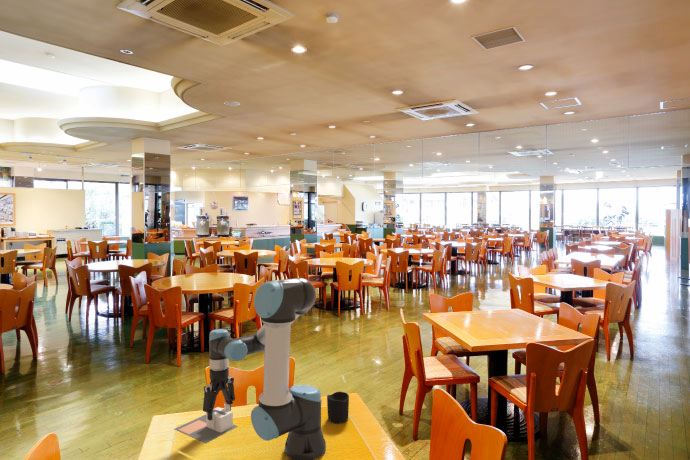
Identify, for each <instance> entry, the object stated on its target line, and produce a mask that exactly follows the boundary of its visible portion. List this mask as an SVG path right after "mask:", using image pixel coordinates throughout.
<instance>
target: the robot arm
mask: <svg viewBox="0 0 690 460" xmlns="http://www.w3.org/2000/svg"><path fill="white" fill-rule="evenodd" d="M316 291H317V290H316V287H315V286H314V285H313V284H312V282H311V281H310V280H308V279H306V278H303V277H294V278H293V277H292V278H286V279H285V278H284V279H277V280H276V279H275V280H274V279H272V280H270V281H265V282H263V283H261V285H260V286H258V288H257V289H256V291H255V294H254V299H253V305H254V306H253V307H254V308H255V312H256V314H257V315H258V317H260V321H261V322H262V323H263V325H262V326H261V327H260V328H259V329H258V330H257V331H256V332H255V333H252V334H250V335H245V336H240V337H237V338H232V337H229V336H230V335H229V331H228V329H226V328H216V329H213V330H211V331H210V332H209V337H208V338H209V340H208V344H209V346H208V347H209V349H208V350H209V354H208V355H209V379H210V382H209V385H207V386H205V385H204V386H203V391H204V393H203V406H202V412H205V413H206V412H207V419H208V420H209V427H211V428H215V412H214V411H213V409H215V403H216V400H217V397H218V395H219V393H220V392H221V393H222V395H223V398H224V401H225V403H223V404H224V405H223V409H225V410H228V411H231V410H232V405H233V404H234V401H236V395H235V386H234V385H235V384H234V381H235V378H234V377H232V376H230V375H229V372H230V370H229V365H230V364H229V362H230V361H235V362H240V361H242V360H244V359H245V358H246V357H247V356H250V355H252V354H257V353H261V352H263V353H264V356H263V357H264V358H263V388H262V389H263V391H262V392H261V394H259V396H258V404H257V405H258V406H257V405H256V406H254V407H253V408H252V410H251V412H250V420H251V424H252V427H253V430H254V431H255V433H256V435H257V436H258V437H259V438H260V439H261V440H263V441H265V442H266V441H268V442H269V441H271V440H274V439H278V438H279V437H281V436H283V435H285V434H287V433H288V434H287V437H286V440H285V443H284V452H285V453H284V454H285V456H286V457H288V458H289V459H291V460H316V459H318V458H321V457H322V456H323V455H324V454H325V453H326V451H327V444H326V443H327V442H326V439H325V437H324V434H323V431H322V395H321V394H322V393H321V391H320V389H319V388H317V387H315V386H313V385H307V384H306V385H305V384H297V385H292V386H291V387H290V386H289V383H290V381H289V380H290V354H291V353H290V352H291V328H292V327H291V325H292V324H293V323H294V322H296V320H297V319H298V317H300V316H304V315H306V313H308V311H310V310H311V309H312V307H313V306H314V305H315V303H316V301H317V292H316ZM229 360H230V361H229ZM289 387H290V388H289ZM231 412H232V411H231Z"/></svg>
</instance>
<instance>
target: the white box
mask: <svg viewBox="0 0 690 460" xmlns="http://www.w3.org/2000/svg"><path fill="white" fill-rule="evenodd" d="M213 411H214V412H215V428H211V427H209V420H208V419H207V412H205V413H206V414H205V415H206V427H208V428H211V429H213V430H215V431H218V432H220V433H222V432H224V431H226V430H228V429H229V428H231V427H233V424H234V419H233V418H234V412H233V411H228V410H225V409H224V408H223V407H220V406H217V407H214V408H213Z"/></svg>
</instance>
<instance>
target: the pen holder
mask: <svg viewBox="0 0 690 460" xmlns="http://www.w3.org/2000/svg"><path fill="white" fill-rule="evenodd" d="M349 395H350V394H348V393H347V392H344V391H336V392H334V393H332V394H328V395H326V405H327V419H328V421H329V422H330V423H332V424H344V423H345V422H347V421H348V419H349V407H350V406H349V404H350V402H349V401H350V396H349Z"/></svg>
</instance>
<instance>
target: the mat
mask: <svg viewBox="0 0 690 460" xmlns="http://www.w3.org/2000/svg"><path fill="white" fill-rule="evenodd" d="M238 427H239V426H238V425H235V424H234V423H233V427H231V428H229V429H228V430H226V431H224V432H222V433H220V432H218V431H215V430H213V429H211V428H208V427H206V414H204V415H201V416H200V417H197V418H195V419H193V420H191V421H188V422H187V423H184V424H181V425H180V426H177V427H176V428H174V430H175V431H176V432H177V431H178V432H180V433H182V434H184V435H187V437H191V438H192V439H196V440H197V441H199V442H202V443H204V444H207V443H210V442H211V441H213V440H215V439H217V438H218V437H220V436H223V435H225V434H227V433H228V432H231V431H232V430H234V429H236V428H238Z"/></svg>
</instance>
